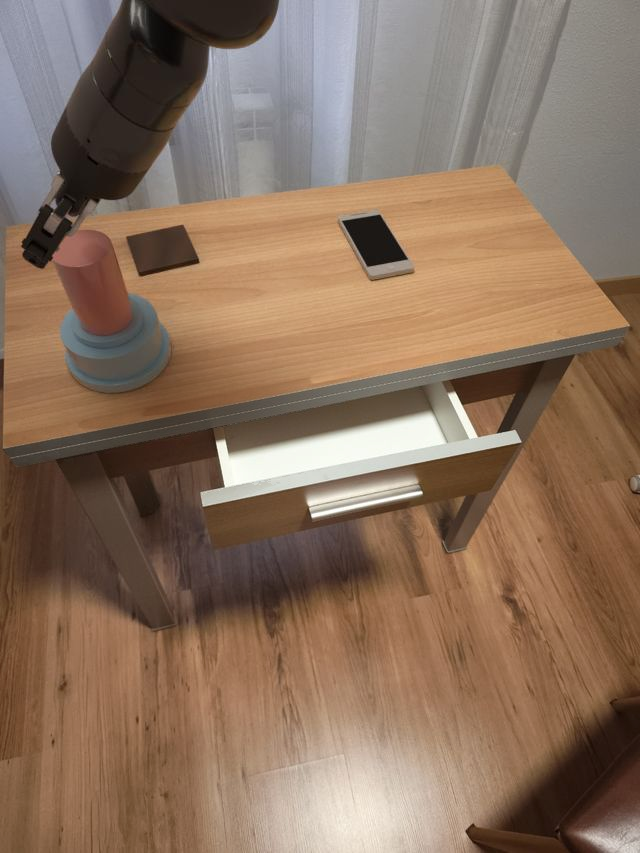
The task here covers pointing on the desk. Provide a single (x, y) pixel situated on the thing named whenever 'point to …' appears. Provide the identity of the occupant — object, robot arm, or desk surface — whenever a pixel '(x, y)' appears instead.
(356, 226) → the smartphone
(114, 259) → the terracotta cylinder
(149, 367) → the blue stepped cylinder
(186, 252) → the coaster
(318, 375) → the desk surface
